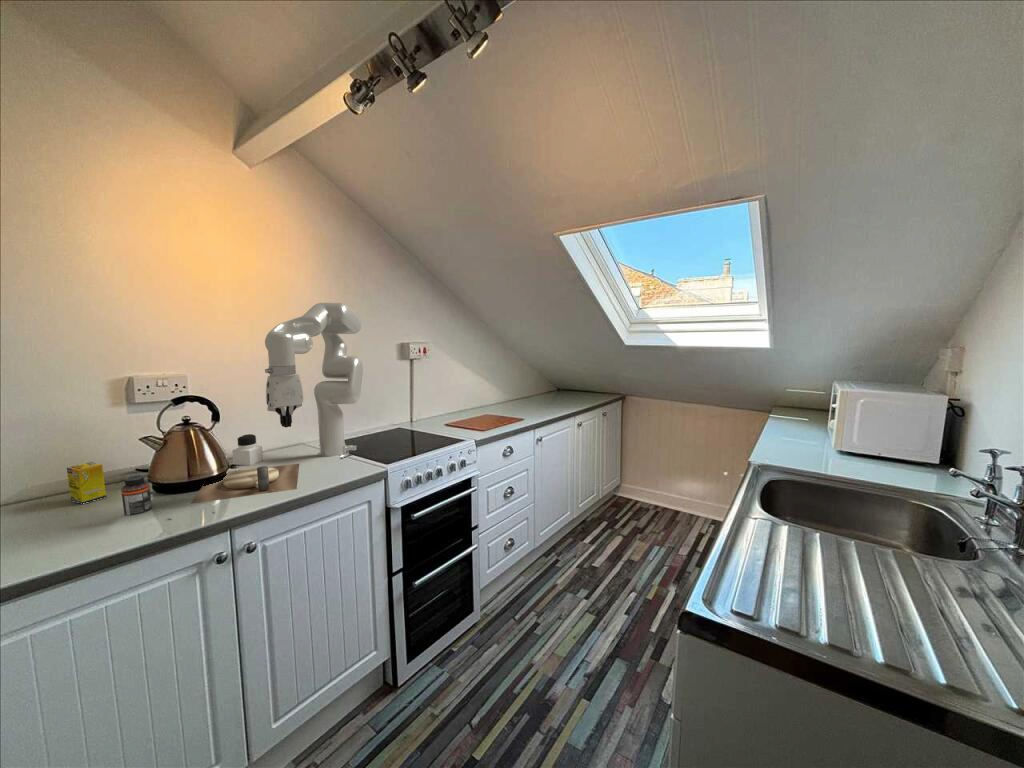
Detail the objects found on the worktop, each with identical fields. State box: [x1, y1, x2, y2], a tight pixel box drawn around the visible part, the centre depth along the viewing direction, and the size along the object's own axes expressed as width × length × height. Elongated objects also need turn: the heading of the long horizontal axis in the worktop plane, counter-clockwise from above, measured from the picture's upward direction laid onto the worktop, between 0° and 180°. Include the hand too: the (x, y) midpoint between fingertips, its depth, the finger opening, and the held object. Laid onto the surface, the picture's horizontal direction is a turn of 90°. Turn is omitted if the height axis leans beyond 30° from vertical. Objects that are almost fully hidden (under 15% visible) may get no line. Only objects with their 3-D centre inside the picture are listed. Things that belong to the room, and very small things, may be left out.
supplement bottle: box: [120, 474, 153, 516], centre depth 118 cm, size 6×6×11 cm
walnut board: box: [190, 463, 300, 504], centre depth 142 cm, size 28×28×2 cm
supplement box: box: [66, 461, 107, 505], centre depth 129 cm, size 6×6×11 cm
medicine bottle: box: [231, 433, 264, 466], centre depth 162 cm, size 7×7×12 cm
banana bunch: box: [223, 465, 279, 491], centre depth 140 cm, size 22×16×7 cm
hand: (286, 426), depth 138 cm, fingers closed
